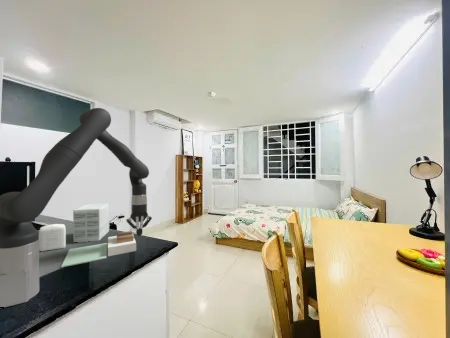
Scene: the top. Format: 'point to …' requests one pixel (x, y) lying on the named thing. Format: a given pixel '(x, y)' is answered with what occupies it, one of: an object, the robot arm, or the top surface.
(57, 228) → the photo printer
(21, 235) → the robot arm
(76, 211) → the supplement box
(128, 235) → the walnut tile
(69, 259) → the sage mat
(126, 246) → the white flat block
